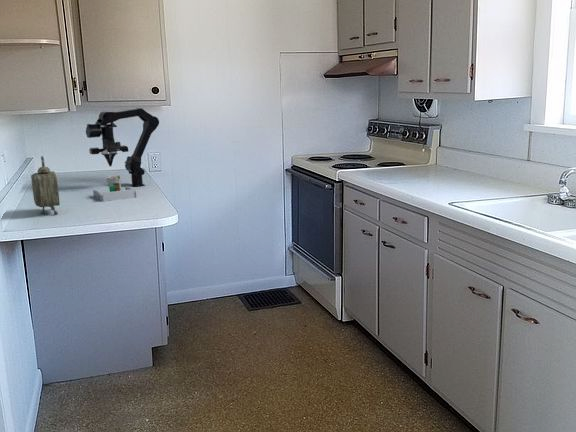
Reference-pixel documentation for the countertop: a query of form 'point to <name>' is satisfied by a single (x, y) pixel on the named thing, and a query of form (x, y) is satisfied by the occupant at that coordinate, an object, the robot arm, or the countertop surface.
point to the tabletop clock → (45, 188)
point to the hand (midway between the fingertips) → (110, 166)
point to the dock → (115, 194)
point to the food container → (114, 183)
